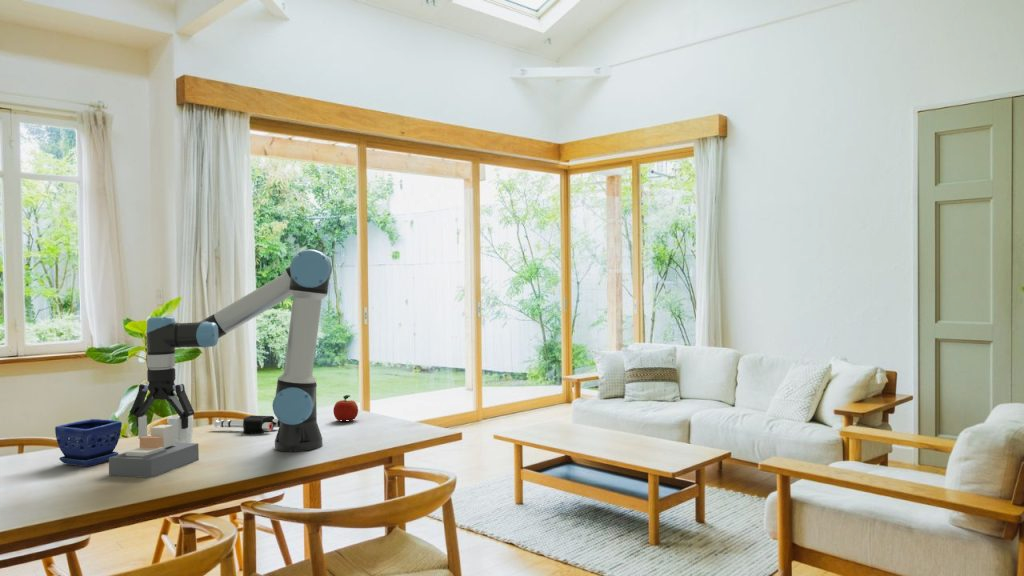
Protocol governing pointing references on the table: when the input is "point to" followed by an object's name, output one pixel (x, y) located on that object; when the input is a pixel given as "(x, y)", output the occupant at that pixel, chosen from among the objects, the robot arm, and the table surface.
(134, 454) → the tan and grey block
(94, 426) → the flower pot
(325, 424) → the table surface
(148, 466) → the socket
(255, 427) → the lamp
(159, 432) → the plug
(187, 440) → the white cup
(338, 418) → the fruit
